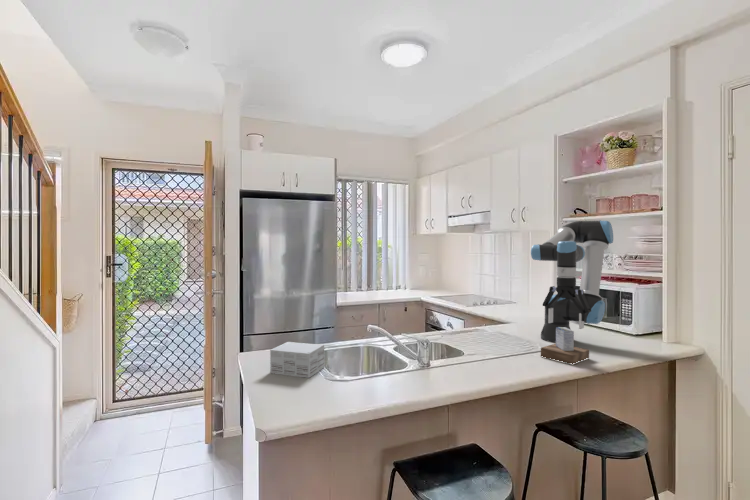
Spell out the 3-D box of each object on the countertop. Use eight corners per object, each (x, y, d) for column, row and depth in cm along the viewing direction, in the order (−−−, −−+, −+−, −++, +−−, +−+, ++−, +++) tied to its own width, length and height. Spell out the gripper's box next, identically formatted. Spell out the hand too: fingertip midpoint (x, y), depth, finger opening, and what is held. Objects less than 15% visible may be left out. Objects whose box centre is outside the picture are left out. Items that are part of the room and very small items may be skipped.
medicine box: (573, 351, 168) (574, 331, 168) (563, 351, 168) (563, 331, 168) (565, 346, 176) (565, 327, 175) (555, 346, 176) (555, 326, 176)
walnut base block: (557, 351, 182) (557, 342, 181) (588, 359, 170) (589, 349, 170) (540, 356, 173) (540, 347, 173) (572, 365, 162) (572, 355, 162)
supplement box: (325, 367, 158) (325, 344, 158) (309, 378, 145) (309, 353, 145) (287, 363, 163) (287, 340, 163) (269, 373, 151) (269, 349, 150)
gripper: (534, 275, 179) (534, 321, 179) (592, 280, 158) (591, 332, 159) (543, 273, 183) (543, 319, 184) (600, 278, 163) (599, 329, 164)
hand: (565, 325), depth 172 cm, fingers open, 13 cm apart
